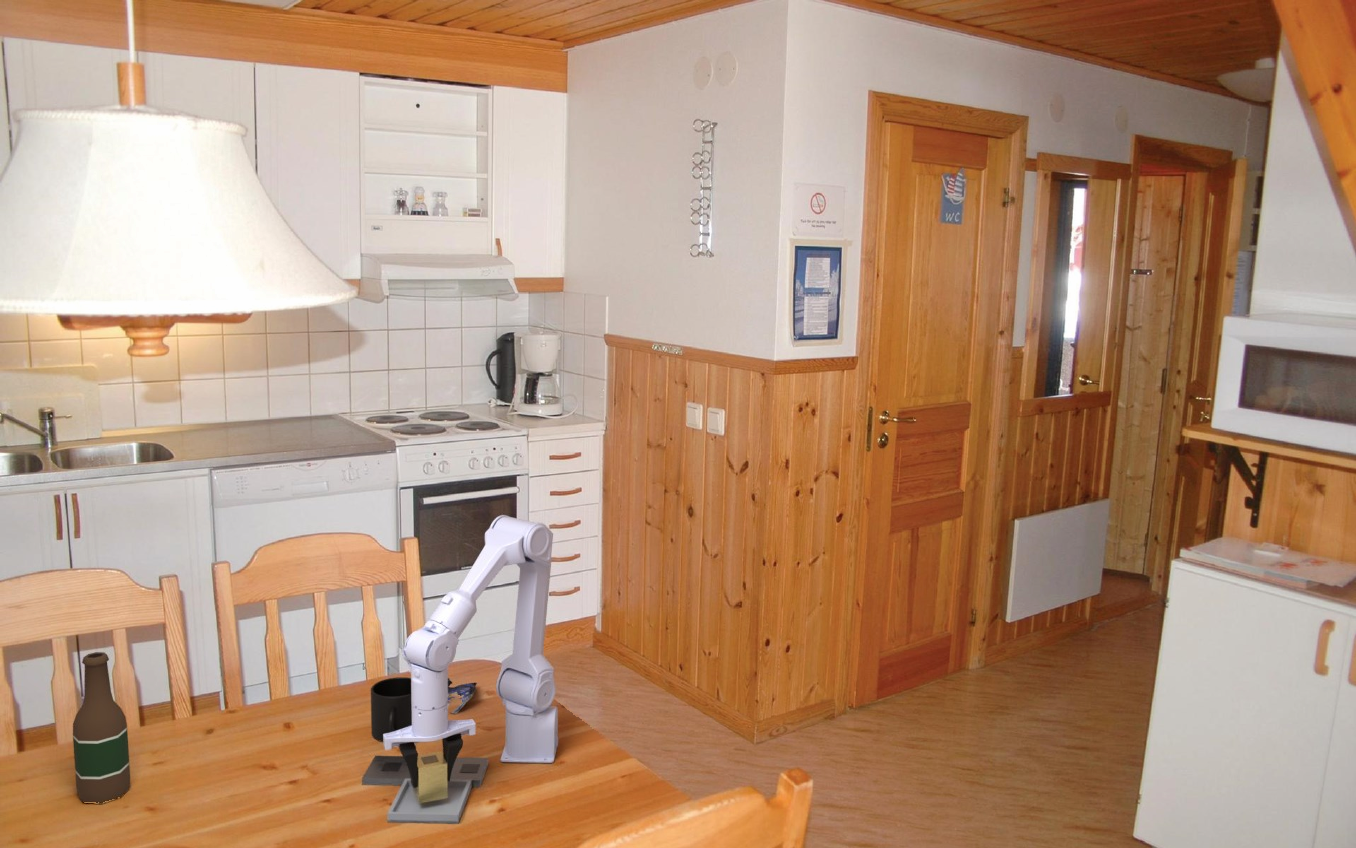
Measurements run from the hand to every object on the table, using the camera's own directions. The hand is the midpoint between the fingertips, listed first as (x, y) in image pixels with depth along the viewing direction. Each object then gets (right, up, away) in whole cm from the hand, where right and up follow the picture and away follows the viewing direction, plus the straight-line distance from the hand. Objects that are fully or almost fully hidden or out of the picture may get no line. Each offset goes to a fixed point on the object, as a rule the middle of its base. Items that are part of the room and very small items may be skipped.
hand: (430, 781), depth 167 cm
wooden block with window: (0, -2, +1) cm, 2 cm away
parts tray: (0, -4, +1) cm, 4 cm away
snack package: (-5, +2, +41) cm, 41 cm away
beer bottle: (-54, -3, +1) cm, 54 cm away
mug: (-12, 0, +25) cm, 28 cm away
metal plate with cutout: (-3, -2, +10) cm, 11 cm away
